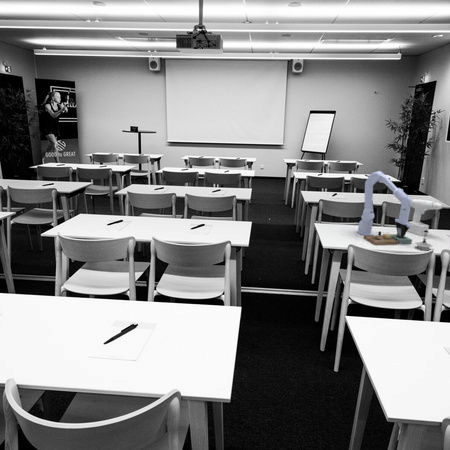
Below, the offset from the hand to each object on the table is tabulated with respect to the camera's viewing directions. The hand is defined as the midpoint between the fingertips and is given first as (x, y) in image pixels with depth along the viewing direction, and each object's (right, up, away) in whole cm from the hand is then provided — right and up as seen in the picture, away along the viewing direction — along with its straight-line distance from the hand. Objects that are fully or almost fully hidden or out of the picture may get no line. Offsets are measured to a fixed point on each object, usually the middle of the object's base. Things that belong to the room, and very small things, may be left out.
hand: (400, 234), depth 267 cm
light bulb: (+9, -9, -12) cm, 17 cm away
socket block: (-14, -4, -2) cm, 15 cm away
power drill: (+23, 0, +21) cm, 31 cm away
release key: (-10, -4, -1) cm, 11 cm away
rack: (0, -4, +1) cm, 4 cm away
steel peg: (-1, -3, +1) cm, 3 cm away
